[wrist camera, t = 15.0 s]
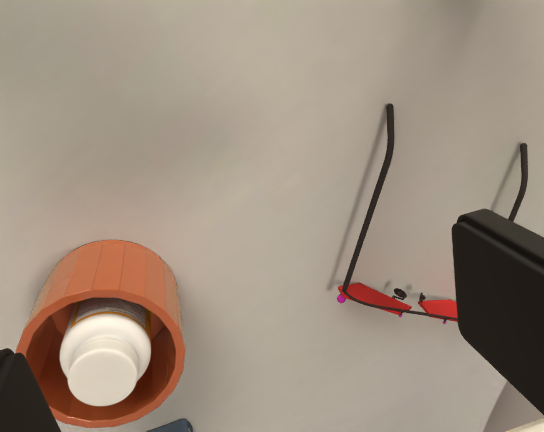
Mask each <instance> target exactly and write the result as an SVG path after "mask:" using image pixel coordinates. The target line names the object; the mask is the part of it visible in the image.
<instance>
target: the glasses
mask: <svg viewBox="0 0 544 432" xmlns="http://www.w3.org/2000/svg"><path fill="white" fill-rule="evenodd" d="M386 108H387V133H388V143H387V151H386V156H385V160H384V163H383V166H382V169H381V172H380V175H379V178H378V181H377V184H376V187H375V190H374V193H373V196H372V199H371V202H370V206H369V209H368V212H367V215H366V218H365V221H364V224H363V227H362V230H361V233H360V236H359V239H358V242H357V245H356V248H355V251H354V254H353V257H352V260H351V263H350V266H349V269H348V272H347V275H346V278H345V281H344V284H343V286H339V287H338V290H339V291H340V293H341V294H340V295H338V297H337V300H338V302H339V303H344V302H345V300H346V298H347V299H350V300H353V301H356V302H358V303H361V304H364V305H367V306H371V307H375V308H378V309H381V310H385V311H388V312H391V313H394V314H397V315H399V317H402V313H404V312H406V313H412V314H419V315H425V316H430V317H434V318H439V319H444V321H443V324H446V320H451V321H456V322H458V318H457V303H456V302H455V301H453V300H431V301H423V300H425V296H424V295H422V294H423V293H421V295H420V299H419V300H420V301H419V302H418V304H419V305H420V306H421V307H422V308H423V310H424V311H425V312H426V313H423V312H416V311H410V309H411V308H412V307H411V306H409V305H407V304H405V303H403V302H400V301H398V300H396V299H395V298H398V299H401V300H404V298H406V296H407V295H406V293H405V292H404V291H403V290H401V289H398V288H396V289H394V292H395V294H396V295H398V296H399V297H402V298H403V299H402V298H399V297H396V296H393V297H394V298H393V297H389V296H387V295H385V294H383V293H381V292H378V291H376V290H374V289H372V288H370V287H367V286H365V285H363V284H361V283H356V284H350V285H349V282H350V280H351V277H352V274H353V271H354V268H355V265H356V262H357V259H358V256H359V253H360V250H361V247H362V244H363V242H364V239H365V236H366V233H367V230H368V227H369V224H370V221H371V218H372V215H373V212H374V209H375V207H376V204H377V201H378V198H379V195H380V192H381V189H382V186H383V183H384V180H385V177H386V174H387V172H388V169H389V166H390V163H391V159H392V155H393V149H394V110H393V105H392V104H388V105H387V107H386ZM520 152H521V172H522V177H521V186H520V190H519V194H518V196H517V199H516V201H515V204H514V206H513V209H512V211H511V214H510V216H509V218H508V220H510V221H512V222H513V221H514V219H515V216H516V214H517V211H518V209H519V207H520V204H521V202H522V200H523V197H524V194H525V191H526V187H527V181H528V158H527V144H526V143H522V144H521V145H520Z"/></svg>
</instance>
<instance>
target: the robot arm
mask: <svg viewBox="0 0 544 432" xmlns="http://www.w3.org/2000/svg"><path fill="white" fill-rule="evenodd" d="M452 243H453V258H454V273H455V288H456V303H457V318H458V327H459V330H460V332H461V334H462V336H463V338H464V339H465V340H466V341H467V342H468V343H469V344H470V345H471V346H472V347H473V348H474V349H475V350H476V351H477V352H478V353H480V354H481V355H482V356H483V357H484V358H485V359H486V360H487V361H488V362H489V363H490V364H491V365H492V366H493V367H494V368H495V369H496V370H497V371H498V372H499V373H500V374H501V375H502V376H503V377H505V378H506V379H507V380H508V381H509V382H510V383H511V384H512V385H513V386H514V387H515V388H516V389H517V390H518V391H519V392H520V393H521V394H523V396H524V397H525V398H526V399H527V400H528V401H530V402H531V403H532V404H533V405H534V406H535V407H536V408H537V409H538V410H539V411H540V412H541V413H542V414H543V415H544V238H543V237H542V236H540V235H538V234H536V233H534V232H532V231H530V230H528V229H526V228H524V227H522V226H520V225H518V224H516V223H514V222H512V221H510V220H508V219H506V218H504V217H502V216H500V215H498V214H496V213H494V212H492V211H490V210H488V209H481V210H477V211H474V212H471V213H467V214H464V215H460V216H459V218H458V220H457V223H456V224H454V225H453V227H452ZM0 432H61V430H60V428H59V426H58V424H57V422H56V420H55V418H54V416H53V414H52V412H51V409H50V407H49V405H48V403H47V401H46V399H45V397H44V395H43V393H42V391H41V389H40V387H39V384H38V382H37V380H36V378H35V376H34V374H33V372H32V370H31V368H30V366H29V364H28V362H27V359H26V358H25V356H24V355H23V354H22V353H20V352H19V353H15V354H14V352H13V351H12V350H11V349H8V348H6V349H3V350H0ZM506 432H544V418H542V419H539V420H536V421H534V422H531V423H528V424H525V425H522V426H520V427H517V428H514V429H511V430H508V431H506Z"/></svg>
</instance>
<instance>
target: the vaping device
mask: <svg viewBox="0 0 544 432" xmlns="http://www.w3.org/2000/svg"><path fill="white" fill-rule="evenodd" d="M149 432H193V429H192V426H191V424H190V423H189V422H188V421H187V420H186V419H182V420H179V421H176V422H173V423H171V424H168V425H165V426H162V427H160V428H157V429H154V430H152V431H149Z"/></svg>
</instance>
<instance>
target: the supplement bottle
mask: <svg viewBox="0 0 544 432" xmlns="http://www.w3.org/2000/svg"><path fill="white" fill-rule="evenodd" d="M150 358H151V311H150V310H148V309H146V308H145V307H143V306H142V305H140V304H137V303H134V302H130V301H127V300H124V299H120V298H101V297H93V298H89V299H85V300H82V301H78V302H74V305H73V308H72V311H71V315H70V318H69V322H68V325H67V328H66V331H65V335H64V338H63V341H62V344H61V349H60V364H61V367H62V370H63V372H64V374H65V375H66V377H67V378H68V386H69V389H70V391H71V392H72V394H73V395H74V396H75V397H76V398H77V399H78V400H80V401H82V402H84V403H86V404H89V405H93V406H108V405H112V404H115V403H118V402H120V401H122V400H123V399H125V398H126V397H127V396H128V395H129V394H130V393H131V392H132V391H133V389H134V387H135V385H136V382H137V380H139V378H140V377H141V376H142V375H143V374H144V372H145V371H146V369H147V367H148V365H149V362H150Z"/></svg>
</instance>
